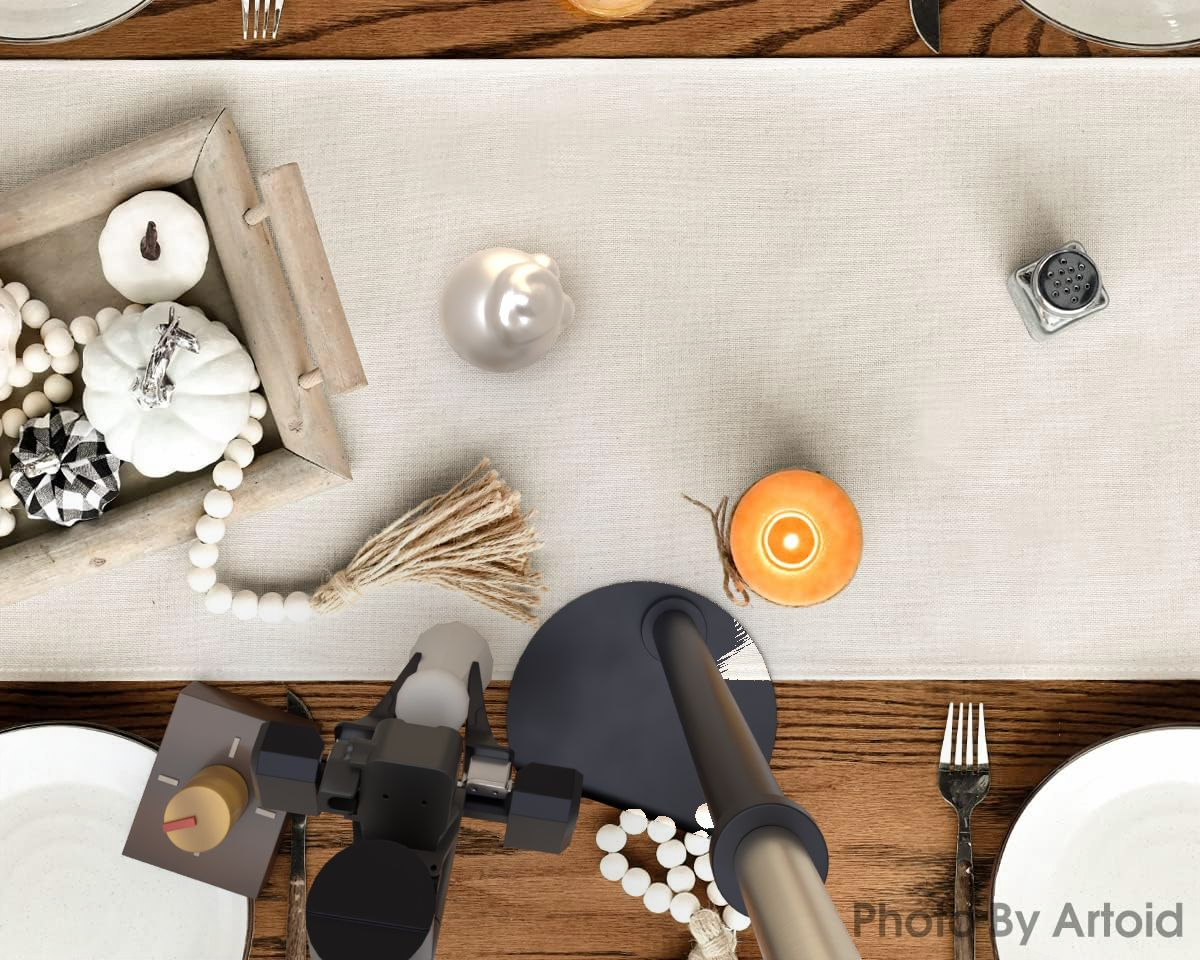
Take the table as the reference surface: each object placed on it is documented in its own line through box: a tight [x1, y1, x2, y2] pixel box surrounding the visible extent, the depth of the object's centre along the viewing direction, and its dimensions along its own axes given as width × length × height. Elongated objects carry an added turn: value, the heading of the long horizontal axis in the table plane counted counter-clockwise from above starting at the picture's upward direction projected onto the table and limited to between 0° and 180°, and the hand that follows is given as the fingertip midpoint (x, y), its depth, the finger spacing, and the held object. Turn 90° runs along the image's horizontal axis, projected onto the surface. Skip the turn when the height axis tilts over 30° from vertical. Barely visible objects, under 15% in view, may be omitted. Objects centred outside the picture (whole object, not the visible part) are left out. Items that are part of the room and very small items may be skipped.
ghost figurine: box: [437, 246, 576, 374], centre depth 73 cm, size 9×10×10 cm
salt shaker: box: [395, 620, 495, 732], centre depth 67 cm, size 6×6×13 cm
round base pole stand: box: [505, 580, 863, 960], centre depth 52 cm, size 20×20×50 cm
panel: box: [121, 680, 324, 901], centre depth 75 cm, size 12×10×3 cm
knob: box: [163, 765, 248, 853], centre depth 71 cm, size 4×4×4 cm
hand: (447, 659), depth 67 cm, fingers closed on salt shaker, 3 cm apart
